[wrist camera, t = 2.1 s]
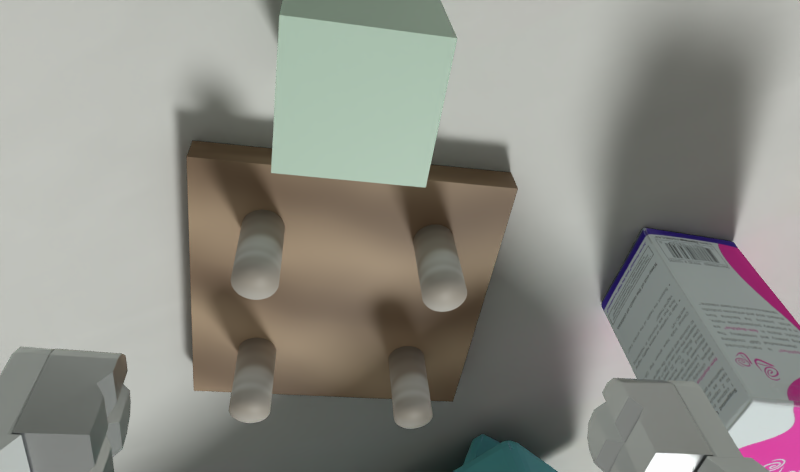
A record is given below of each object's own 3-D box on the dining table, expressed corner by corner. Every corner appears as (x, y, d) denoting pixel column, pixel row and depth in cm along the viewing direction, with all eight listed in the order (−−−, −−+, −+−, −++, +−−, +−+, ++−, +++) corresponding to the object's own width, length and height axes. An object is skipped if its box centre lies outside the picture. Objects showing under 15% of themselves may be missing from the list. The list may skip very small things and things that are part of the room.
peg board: (192, 140, 30) (167, 207, 25) (511, 172, 32) (539, 239, 28) (198, 370, 38) (180, 450, 34) (449, 382, 40) (463, 458, 36)
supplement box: (597, 307, 38) (682, 484, 29) (642, 224, 35) (755, 393, 25) (685, 319, 39) (795, 493, 30) (737, 240, 36) (878, 407, 26)
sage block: (295, -59, 25) (279, 14, 18) (422, -39, 26) (457, 38, 19) (287, 66, 28) (270, 173, 21) (402, 80, 29) (425, 187, 22)
